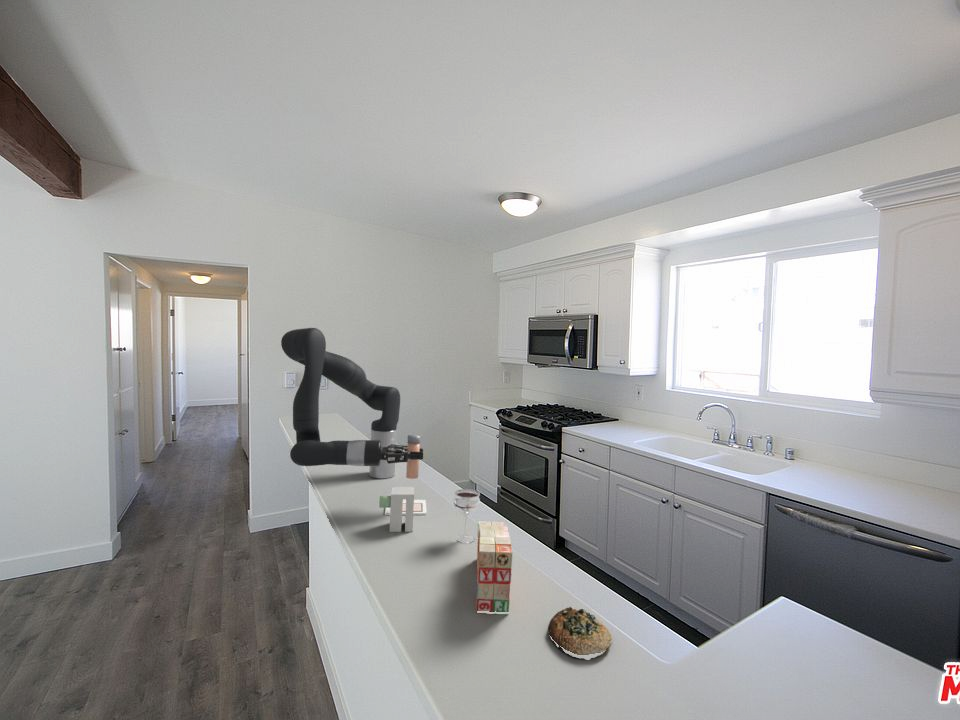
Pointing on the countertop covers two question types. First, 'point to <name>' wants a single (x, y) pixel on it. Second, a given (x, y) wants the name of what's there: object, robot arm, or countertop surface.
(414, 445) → the terracotta marker
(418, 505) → the white square board
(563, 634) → the bread roll
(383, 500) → the button
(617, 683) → the countertop surface
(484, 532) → the stack of blocks
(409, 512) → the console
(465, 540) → the wineglass
